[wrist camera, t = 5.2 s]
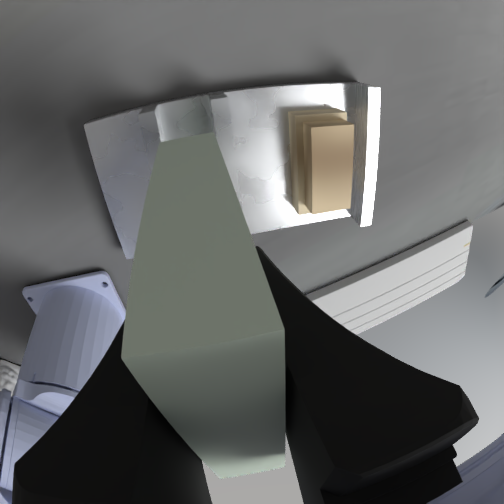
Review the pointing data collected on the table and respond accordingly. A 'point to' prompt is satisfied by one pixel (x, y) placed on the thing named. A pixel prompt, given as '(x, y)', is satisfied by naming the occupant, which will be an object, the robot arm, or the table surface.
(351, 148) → the offcut upper
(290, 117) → the offcut lower
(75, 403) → the robot arm
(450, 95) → the table surface
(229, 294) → the pale green rectangular block
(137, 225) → the rack
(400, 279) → the white board
